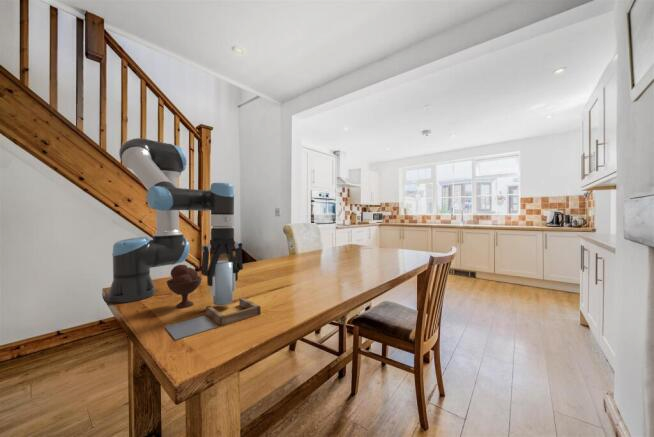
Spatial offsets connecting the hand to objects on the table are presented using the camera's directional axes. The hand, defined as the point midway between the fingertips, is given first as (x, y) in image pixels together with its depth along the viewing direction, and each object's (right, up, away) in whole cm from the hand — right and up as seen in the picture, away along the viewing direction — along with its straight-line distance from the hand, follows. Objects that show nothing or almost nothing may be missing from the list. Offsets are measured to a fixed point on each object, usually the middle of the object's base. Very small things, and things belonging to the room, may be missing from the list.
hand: (223, 292), depth 89 cm
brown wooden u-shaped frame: (+6, -5, -6) cm, 10 cm away
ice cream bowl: (-15, -6, +2) cm, 16 cm away
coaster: (-3, -6, -15) cm, 17 cm away
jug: (-1, -3, +1) cm, 4 cm away
